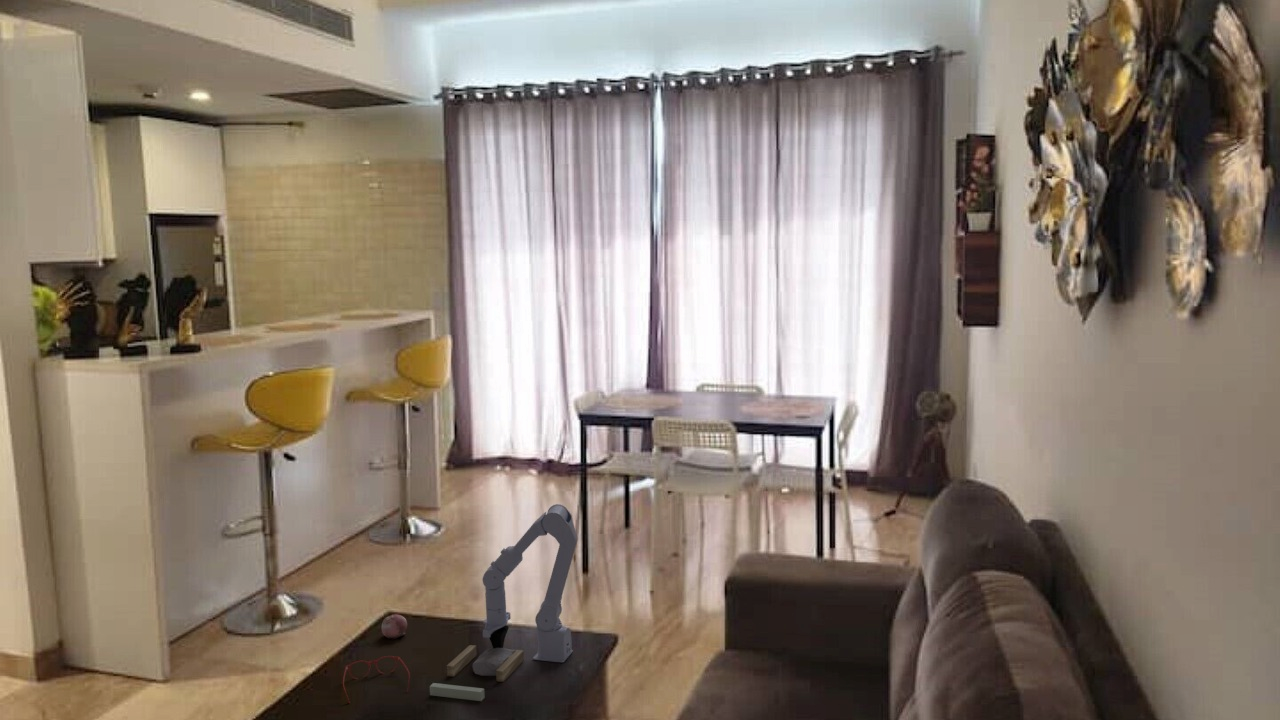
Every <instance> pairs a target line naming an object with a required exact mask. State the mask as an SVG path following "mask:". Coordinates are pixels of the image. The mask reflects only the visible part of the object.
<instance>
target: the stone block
mask: <svg viewBox="0 0 1280 720" xmlns="http://www.w3.org/2000/svg"><path fill="white" fill-rule="evenodd" d="M515 651H516V650H515V649H509V648H505V647H503V648H494V649H493V648H489V649H486V650H484V652H482V653H481V654H480V655H479V656H478V657H477V658H476V659H475V661H474V662H473V663H472V671H473V672H474V674H475V675H479V676H491V677H493V676H494V677H496V670H497V669H498V668H499V667H500V666H501V665H502V664H503V663H504V662H505V661H506V660H507V659H508V658H509V657H510V656H511V655H512V654H513V653H514V652H515Z"/></svg>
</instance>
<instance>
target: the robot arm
mask: <svg viewBox="0 0 1280 720" xmlns="http://www.w3.org/2000/svg"><path fill="white" fill-rule="evenodd" d="M548 534H549V535H551V536H552V538H555V540H556V541H557V543H558V544H559V546H558V550H557V553H556V557H555V560H554V564H553V568H552V571H551V575H550V579H549V582H548V585H547V590H546V593H545V597H544V599H543V601H542V603H541V604H540V608H539V610H538V612H537V614H536V616H535V625H536V638H537V653H536V654H535V655H534V656H533V657H532V659H533V661H534V660H535V661H544V662H553V663H564V662H566V660H567V659H568V658H569V657H570V656H571V654H573V651H574V650H573V649H572V632H571V629H570V627H568V626H564V625H563V624H562V621H561V619H560V616H561V614H562V609H563V608H562V599H563V593H564V590H565V587H566V583H567V579H568V575H569V571H570V568H571V565H572V561H573V557H574V554H575V550H576V546H577V543H578V535H577V531H576V528H575V525H574V522H573V515H572V513H571V512H570V511H569V509H568V508H567V507H566V506H565V505H563V504H558V503H557V504H553V505H552V506H550V507H549V508H548V510H547V511H545V512H543V513H542V514H541V515H540V516H539V517H538V518H537V519H536V520H535V521H534V522H533V523H532V525H530V527H529V528H528V529H527V531H526V532H525V533H524V534H523V535H522V536H521V538H520V539H519V540H518V541H517V543H516V544H515V545H512V546H511V545H510V546H507V547H505V548H503V549H501V551H500V554H499V556H498V557H497V558H496V559H495V561H494V560H492V562H491V563H490V566H489V567H488V568H487V569H486V571H485V573H484V574H483V576H482V584H483V586H484V588H485V589H484V590H485V593H484V594H485V610H486V611H485V613H486V614H485V615H486V619H484V620H483V625H485V626H484V629H483V630H482V638H486V639H489V641H490V643H491V646H492V649H494V648H504V646H505V645H504V644H505V639H506V635H507V634H508V630H509V629H510V627H509V625H508V623H509V620H511V618H512V617H511V612H509V611H507V604H506V603H507V602H506V601H507V600H506V599H507V598H506V590H505V589H506V588H505V580H506V579H507V577H509V576H510V575H511V573H512V572H513V571H514V570H515V569H516V568H517V567H518V566H519V564H520V563H521V562H522V561H523V554H524V552H525V551H526V550H527V549H528V548H529V547H530V546H531V545H532V544H533V542H534V543H535V541H536V540H537V539H538V538H539V537H540V536H541V537H542V536H547V535H548Z"/></svg>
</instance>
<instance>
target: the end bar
mask: <svg viewBox="0 0 1280 720" xmlns="http://www.w3.org/2000/svg"><path fill="white" fill-rule="evenodd" d="M429 695H430V696H433V697H435V696H436V697H444V698H451V699H458V700H459V699H461V700H467V701H477V702H482V701H483V700H484V699H485V698H486V697H485V688H481V687H474V686H465V685H464V686H463V685H455V684H445V683H438V682H437V683H436V682H432V684H430V685H429Z"/></svg>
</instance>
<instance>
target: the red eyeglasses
mask: <svg viewBox="0 0 1280 720" xmlns="http://www.w3.org/2000/svg"><path fill="white" fill-rule="evenodd" d="M384 658H392V659H394V661H395V666H394V668H393V669H392V670H391V671H390V672H389V673H390V674H391V673H393V672H394V671H395V669H396V668H397V665H398V661H399V662H400V664H401V665H402V666H403V667H404V668H405V670H406V671H407V673H408V680H407V681H408V682H407V689H406V693H408V692H409V685H410V678H411V676H410V675H411V674H410V671H409V669H408V667H407V665H406V664H405V662H404V661H403V660H402V659H401V657H400V656H393V655H386V656H382V657H380V658H377V660H371V661H366V660H359V661H354V662H352V663H350V664H348V665H346V666H345V668H344V673H343V676H342V677H343V678H342V679H343V680H342V686H343V687H342V688H343V690H344V692H345V696H346V698H347V700H348V703H349V704H351V701H350V699H349V696H348V693H347V690H346V688H345V687H346V686H345V678H346V675H347V671H348V674H349V676H350V678H352V679H355V680H358V677H354V676H353V675H352V673H351V668H352V666H353V665H354V664H357V663H366V664H367V666H368V669H367V670H368V671H367V672H366V674H365V675H364V676H363V678H365V677H366V676H368V674H369V672H370V670H371V664H374V665H375V669H376V670H377V671H378V673H380V674H382V675H384V674H385V673H384V672H382V671H380V670H379V668H378V663H379V661H381V660H382V659H384Z"/></svg>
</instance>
